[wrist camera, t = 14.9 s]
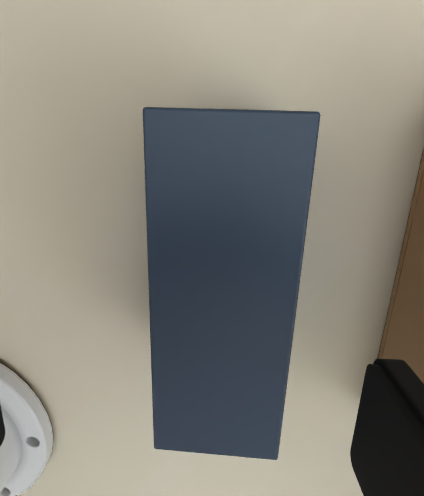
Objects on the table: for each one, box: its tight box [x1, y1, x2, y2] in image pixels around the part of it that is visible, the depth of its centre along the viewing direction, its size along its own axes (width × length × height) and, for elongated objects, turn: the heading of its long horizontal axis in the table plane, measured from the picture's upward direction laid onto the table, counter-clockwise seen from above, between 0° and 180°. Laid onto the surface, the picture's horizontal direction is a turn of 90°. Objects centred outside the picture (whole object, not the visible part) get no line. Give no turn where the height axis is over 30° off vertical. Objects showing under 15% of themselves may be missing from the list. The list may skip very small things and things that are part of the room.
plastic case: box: [143, 107, 320, 460], centre depth 14 cm, size 5×12×7 cm, turn 178°
